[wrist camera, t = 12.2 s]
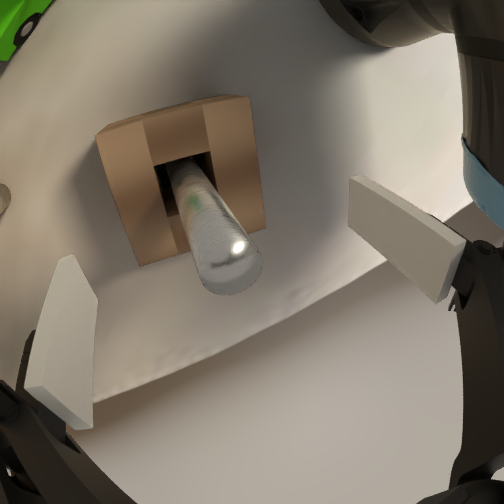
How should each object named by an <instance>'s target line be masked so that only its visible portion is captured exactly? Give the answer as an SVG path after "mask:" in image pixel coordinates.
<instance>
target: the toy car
mask: <svg viewBox="0 0 504 504" xmlns="http://www.w3.org/2000/svg"><path fill="white" fill-rule="evenodd" d="M51 2H52V0H0V62H4V61H8V60H9V58H10V57H11V55H12V54H13V52H14V50H15V49H16V47H17V46H16V45H20V44H22V43H23V42H24V41H25V40H27V38H28V37H29V36H30V35H31V33H32V32H33V31H34V29H35V28H36V26H37V24H38V21H39V18H40V16H39V13H40V14H42V13H43V11H44V10H45V9H46V8H47V6H48V5H49V4H50V3H51Z"/></svg>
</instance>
